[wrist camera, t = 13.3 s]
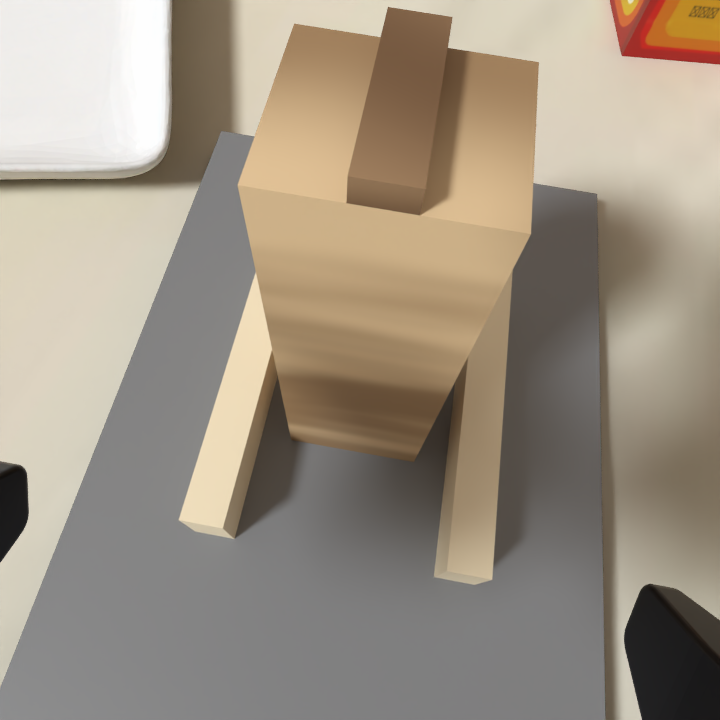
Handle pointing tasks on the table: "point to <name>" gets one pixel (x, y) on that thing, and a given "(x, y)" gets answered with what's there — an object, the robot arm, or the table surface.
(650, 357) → the table surface
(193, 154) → the table surface
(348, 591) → the groove board
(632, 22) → the baking soda box
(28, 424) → the table surface
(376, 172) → the wooden board
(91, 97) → the salad plate
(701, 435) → the table surface
